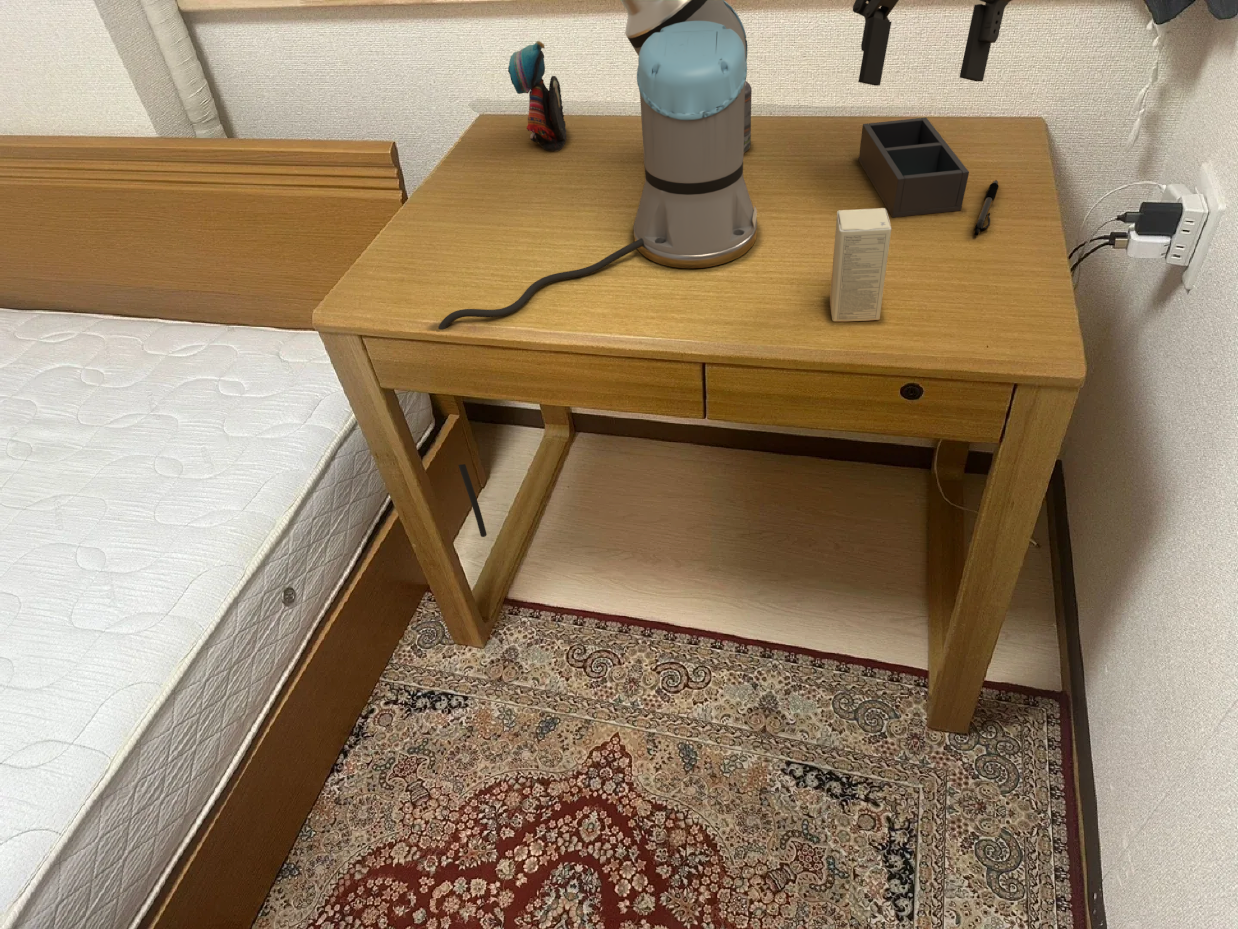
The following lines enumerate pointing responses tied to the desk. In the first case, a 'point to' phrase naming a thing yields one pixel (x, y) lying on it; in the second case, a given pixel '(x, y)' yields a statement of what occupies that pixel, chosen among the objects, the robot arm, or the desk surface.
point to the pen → (986, 209)
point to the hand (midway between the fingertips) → (917, 82)
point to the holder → (912, 167)
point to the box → (859, 264)
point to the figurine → (539, 97)
